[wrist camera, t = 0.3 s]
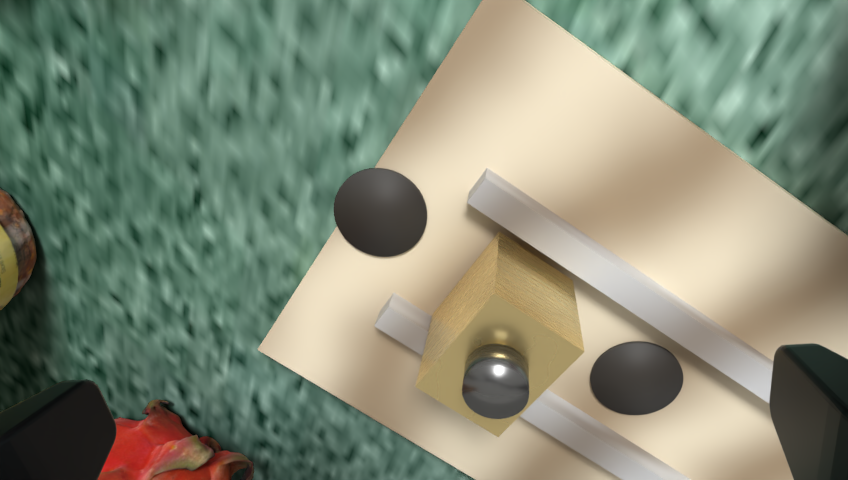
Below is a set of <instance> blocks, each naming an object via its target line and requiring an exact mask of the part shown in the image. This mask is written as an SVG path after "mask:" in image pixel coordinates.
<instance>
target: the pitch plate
mask: <svg viewBox="0 0 848 480" xmlns="http://www.w3.org/2000/svg"><path fill="white" fill-rule="evenodd" d="M334 216H335V221H336V224H337V227H336V228H335V230H334V232H333V233H332V235H331V236H330V238H329V239H328V241H327V242H326V244H325V246H324V247H323V249H322V250H321V252H320V253H319V255H318V256H317V258H316V260H315V261H314V263H313V264H312V266H311V267H310V269H309V270H308V272H307V274H306V275H305V277H304V278H303V280H302V281H301V283H300V284H299V286H298V288H297V289H296V291H295V292H294V294H293V295H292V297H291V298H290V300H289V302H288V303H287V305H286V306H285V308H284V309H283V311H282V312H281V314H280V316H279V317H278V319H277V320H276V322H275V323H274V325H273V326H272V328H271V329H270V331H269V333H268V334H267V336H266V337H265V339H264V340H263V342H262V343H261V345H260V347H259V348H258V350H259V351H260V352H262V353H264V354H265V355H267V356H269V357H270V358H272V359H274V360H276V361H277V362H279V363H281V364H282V365H284V366H286V367H287V368H289V369H291V370H292V371H294V372H296V373H297V374H299V375H301V376H302V377H304V378H306V379H307V380H309V381H311V382H312V383H314V384H316V385H318V386H319V387H321V388H323V389H324V390H326V391H328V392H329V393H331V394H333V395H334V396H336V397H338V398H339V399H341V400H343V401H344V402H346V403H348V404H349V405H351V406H353V407H354V408H356V409H358V410H360V411H361V412H363V413H365V414H366V415H368V416H370V417H371V418H373V419H375V420H376V421H378V422H380V423H381V424H383V425H385V426H386V427H388V428H390V429H391V430H393V431H395V432H396V433H398V434H400V435H402V436H403V437H405V438H407V439H408V440H410V441H412V442H413V443H415V444H417V445H418V446H420V447H422V448H423V449H425V450H427V451H428V452H430V453H432V454H433V455H435V456H437V457H438V458H440V459H442V460H443V461H445V462H447V463H449V464H450V465H452V466H454V467H455V468H457V469H459V470H460V471H462V472H464V473H465V474H467V475H469V476H470V477H472V478H474V479H475V480H794V479H793V476H792V474H791V471H790V468H789V466H788V463H787V460H786V457H785V455H784V452H783V449H782V446H781V444H780V441H779V438H778V435H777V433H776V430H775V427H774V424H773V421H772V418H771V414H770V405H769V400H770V390H771V380H772V370H773V361H774V354H775V352H776V350H777V348H779V347H780V346H781V345H789V344H808V343H815V344H819V345H821V346H824V347H826V348H828V349H829V350H831V351H833V352H835V353H837V354H839V355H841V356H843V357H845V358H847V359H848V235H847V234H845V233H844V232H843V231H841V230H840V229H838V228H837V227H836V226H834V225H833V224H832V223H830V222H829V221H827V220H826V219H825V218H823V217H822V216H821V215H819V214H818V213H816V212H815V211H814V210H812V209H811V208H810V207H808V206H807V205H805V204H804V203H803V202H801V201H800V200H799V199H797V198H796V197H794V196H793V195H792V194H790V193H789V192H788V191H786V190H785V189H783V188H782V187H781V186H779V185H778V184H777V183H775V182H774V181H772V180H771V179H770V178H768V177H767V176H766V175H764V174H763V173H761V172H760V171H759V170H757V169H756V168H755V167H753V166H752V165H750V164H749V163H748V162H746V161H745V160H744V159H742V158H741V157H739V156H738V155H737V154H735V153H734V152H732V151H731V150H730V149H728V148H727V147H726V146H724V145H723V144H721V143H720V142H719V141H717V140H716V139H715V138H713V137H712V136H710V135H709V134H708V133H706V132H705V131H704V130H702V129H701V128H699V127H698V126H697V125H695V124H694V123H693V122H691V121H690V120H688V119H687V118H686V117H684V116H683V115H682V114H680V113H679V112H677V111H676V110H675V109H673V108H672V107H671V106H669V105H668V104H666V103H665V102H664V101H662V100H661V99H660V98H658V97H657V96H655V95H654V94H653V93H651V92H650V91H649V90H647V89H646V88H644V87H643V86H642V85H640V84H639V83H638V82H636V81H635V80H633V79H632V78H631V77H629V76H628V75H627V74H625V73H624V72H622V71H621V70H620V69H618V68H617V67H616V66H614V65H613V64H611V63H610V62H609V61H607V60H606V59H605V58H603V57H602V56H600V55H599V54H598V53H596V52H595V51H594V50H592V49H591V48H589V47H588V46H587V45H585V44H584V43H583V42H581V41H580V40H578V39H577V38H576V37H574V36H573V35H572V34H570V33H569V32H567V31H566V30H565V29H563V28H562V27H561V26H559V25H558V24H556V23H555V22H554V21H552V20H551V19H550V18H548V17H547V16H545V15H544V14H543V13H541V12H540V11H538V10H537V9H536V8H534V7H533V6H532V5H530V4H529V3H527V2H526V1H525V0H482V1H481V3H480V5H479V6H478V8H477V9H476V11H475V12H474V14H473V15H472V17H471V19H470V20H469V22H468V23H467V25H466V26H465V28H464V29H463V31H462V33H461V34H460V36H459V37H458V39H457V40H456V42H455V43H454V45H453V47H452V48H451V50H450V51H449V53H448V54H447V56H446V57H445V59H444V61H443V62H442V64H441V65H440V67H439V68H438V70H437V71H436V73H435V75H434V76H433V78H432V79H431V81H430V82H429V84H428V85H427V87H426V89H425V90H424V92H423V93H422V95H421V96H420V98H419V99H418V101H417V103H416V104H415V106H414V107H413V109H412V110H411V112H410V113H409V115H408V117H407V118H406V120H405V121H404V123H403V124H402V126H401V127H400V129H399V131H398V132H397V134H396V135H395V137H394V138H393V140H392V141H391V143H390V145H389V146H388V148H387V149H386V151H385V152H384V154H383V155H382V157H381V158H380V160H379V162H378V163H377V165H376V166H375V168H369V169H365V170H362V171H359V172H357V173H355V174H353V175H352V176H351V177H349V178H348V179H347V180H346V181H345V182H344V183H343V185H342V186H341V187H340V189H339V191H338V193H337V195H336V198H335V202H334ZM498 232H501V233H502V234H504V235H505V236H507V237H508V238H510V239H511V240H513V241H514V242H516V243H517V244H519V245H520V246H522V247H523V248H525V249H526V250H528V251H529V252H531V253H532V254H534V255H535V256H537V257H538V258H540V259H541V260H543V261H544V262H546V263H547V264H549V265H550V266H552V267H553V268H555V269H556V270H558V271H559V272H561V273H562V274H564V275H566V276H567V277H569V278H570V279H572V280H573V284H574V290H575V296H576V303H577V309H578V315H579V321H580V327H581V333H582V339H583V345H584V351H585V352H584V353H583V354H582V355H581V356H580V357H579V358H578V359H577V360H576V361H575V362H574V363H573V364H572V365H571V366H570V367H569V368H568V369H567V370H566V371H565V372H564V373H563V374H562V375H561V376H560V377H559V378H558V379H557V380H556V381H555V382H554V383H553V384H552V385H551V386H550V387H549V388H548V389H547V390H546V391H545V392H543V393H542V394H541V395H540V396H539V397H538V398H537V399H536V400H535V401H534V402H533V403H532V404H531V405H530V406H529V407H528V408H527V409H526V410H525V411H524V412H523V413H522V414H521V415H520V416H519V417H518V418H517V419H516V420H515V421H514V422H513V423H512V424H511V425H510V426H509V427H508V428H507V429H506V430H505V431H504V432H503V433H502V434H501V435H500V436H499V437H497V436H495V435H493V434H492V433H490V432H488V431H487V430H485V429H484V428H482V427H480V426H479V425H477V424H475V423H474V422H472V421H470V420H469V419H467V418H466V417H464V416H462V415H461V414H459V413H457V412H456V411H454V410H452V409H451V408H449V407H447V406H446V405H444V404H443V403H441V402H439V401H438V400H436V399H434V398H433V397H431V396H429V395H428V394H426V393H425V392H423V391H421V390H420V389H418V388H416V387H415V385H416V381H417V377H418V373H419V369H420V364H421V360H422V356H423V352H424V348H425V344H426V339H427V335H428V331H429V327H430V323H431V319H432V314H433V313H434V312H435V310H436V309H437V308H438V307H439V305H440V304H441V303H442V302H443V300H444V299H445V298H446V297H447V296H448V294H449V293H450V292H451V291H452V289H453V288H454V287H455V286H456V284H457V283H458V282H459V281H460V279H461V278H462V277H463V276H464V274H465V273H466V272H467V271H468V269H469V268H470V267H471V266H472V264H473V263H474V262H475V261H476V260H477V258H478V257H479V256H480V255H481V253H482V252H483V251H484V250H485V248H486V247H487V246H488V245H489V243H490V242H491V241H492V240H493V238H494V237H495V236H496V235H497V233H498Z"/></svg>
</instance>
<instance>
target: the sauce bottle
mask: <svg viewBox="0 0 848 480" xmlns="http://www.w3.org/2000/svg"><path fill="white" fill-rule="evenodd" d="M36 259H37V254H36V246H35V239H34V236H33V234H32V230H31V227H30V225H29V224H28V222H27V220H26V219H25V215H24V213H23V211H22V210H20V208H19V207H18V205H17V204H16V203H15V202H14V200H13V199H12V198H11V197H10V195H9V193H8V192H6V191H3V190H2V189H1V188H0V310H1V309H3V308H4V307H5V306H6V305H7V304H8V303H9V301H10V300H11V299H12V298H13V297H14V296H16V295H17V294H18V293H19V292H20V290H21V288H22V287H23V286H24V285H25V283H26V282H27V281H28V279H29V278H30V276H31V273H32V270H33V268H34V265H35V262H36Z"/></svg>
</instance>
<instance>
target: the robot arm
mask: <svg viewBox="0 0 848 480" xmlns="http://www.w3.org/2000/svg"><path fill="white" fill-rule="evenodd" d="M769 405H770V414H771V418H772V421H773V424H774V427H775V430H776V433H777V435H778V438H779V441H780V444H781V446H782V449H783V452H784V455H785V457H786V460H787V463H788V466H789V468H790V471H791V474H792V476H793V479H794V480H848V359H847V358H845V357H843V356H841V355H839V354H837V353H835V352H833V351H831V350H829V349H828V348H826V347H824V346H821V345H819V344H815V343H808V344H789V345H781V346H780V347H779V348H777V350H776V352H775V354H774V361H773V370H772V380H771V390H770V400H769ZM116 433H117V428H116V423H115V420H114V418H113V416H112V414H111V412H110V410H109V407H108V405H107V403H106V401H105V399H104V397H103V395H102V393H101V391H100V389H99V387H98V385H97V384H95V383H94V382H93V381H91V380H87V379H86V380H67V381H62V382H60V383H57V384H55V385H53V386H51V387H49V388H47V389H46V390H44V391H42V392H40V393H38V394H36V395H34V396H32V397H30V398H28V399H26V400H24V401H22V402H20V403H18V404H16V405H14V406H12V407H10V408H8V409H6V410H4V411H2V412H0V480H98V477H99V475H100V473H101V471H102V468H103V466H104V464H105V462H106V460H107V457H108V455H109V453H110V451H111V448H112V446H113V444H114V442H115V439H116Z"/></svg>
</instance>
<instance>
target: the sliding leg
mask: <svg viewBox="0 0 848 480" xmlns="http://www.w3.org/2000/svg"><path fill="white" fill-rule="evenodd" d="M584 352H585V351H584V345H583V339H582V333H581V327H580V321H579V315H578V309H577V303H576V296H575V290H574V284H573V280H572V279H570V278H569V277H567V276H566V275H564V274H562V273H561V272H559V271H558V270H556V269H555V268H553V267H552V266H550V265H549V264H547V263H546V262H544V261H543V260H541V259H540V258H538V257H537V256H535V255H534V254H532V253H531V252H529V251H528V250H526V249H525V248H523V247H522V246H520V245H519V244H517V243H516V242H514V241H513V240H511V239H510V238H508V237H507V236H505V235H504V234H502V233H501V232H498V233H497V235H496V236H495V237H494V238H493V240H492V241H491V242H490V243H489V245H488V246H487V247H486V248H485V250H484V251H483V252H482V253H481V255H480V256H479V257H478V258H477V260H476V261H475V262H474V263H473V264H472V266H471V267H470V268H469V269H468V271H467V272H466V273H465V274H464V276H463V277H462V278H461V279H460V281H459V282H458V283H457V284H456V286H455V287H454V288H453V289H452V291H451V292H450V293H449V294H448V296H447V297H446V298H445V299H444V300H443V302H442V303H441V304H440V305H439V307H438V308H437V309H436V310H435V312H434V313H433V314H432V319H431V323H430V327H429V331H428V335H427V339H426V344H425V348H424V352H423V356H422V360H421V364H420V369H419V373H418V377H417V381H416V385H415V387H416V388H418V389H420V390H421V391H423V392H425V393H426V394H428V395H429V396H431V397H433V398H434V399H436V400H438V401H439V402H441V403H443V404H444V405H446V406H447V407H449V408H451V409H452V410H454V411H456V412H457V413H459V414H461V415H462V416H464V417H466V418H467V419H469V420H470V421H472V422H474V423H475V424H477V425H479V426H480V427H482V428H484V429H485V430H487V431H488V432H490V433H492V434H493V435H495V436H497V437H499V436H500V435H501V434H502V433H503V432H504V431H505V430H506V429H507V428H508V427H509V426H510V425H511V424H512V423H513V422H514V421H515V420H516V419H517V418H518V417H519V416H520V415H521V414H522V413H523V412H524V411H525V410H526V409H527V408H528V407H529V406H530V405H531V404H532V403H533V402H534V401H535V400H536V399H537V398H538V397H539V396H540V395H541V394H542V393H543V392H545V391H546V390H547V389H548V388H549V387H550V386H551V385H552V384H553V383H554V382H555V381H556V380H557V379H558V378H559V377H560V376H561V375H562V374H563V373H564V372H565V371H566V370H567V369H568V368H569V367H570V366H571V365H572V364H573V363H574V362H575V361H576V360H577V359H578V358H579V357H580V356H581V355H582V354H583V353H584Z"/></svg>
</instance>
